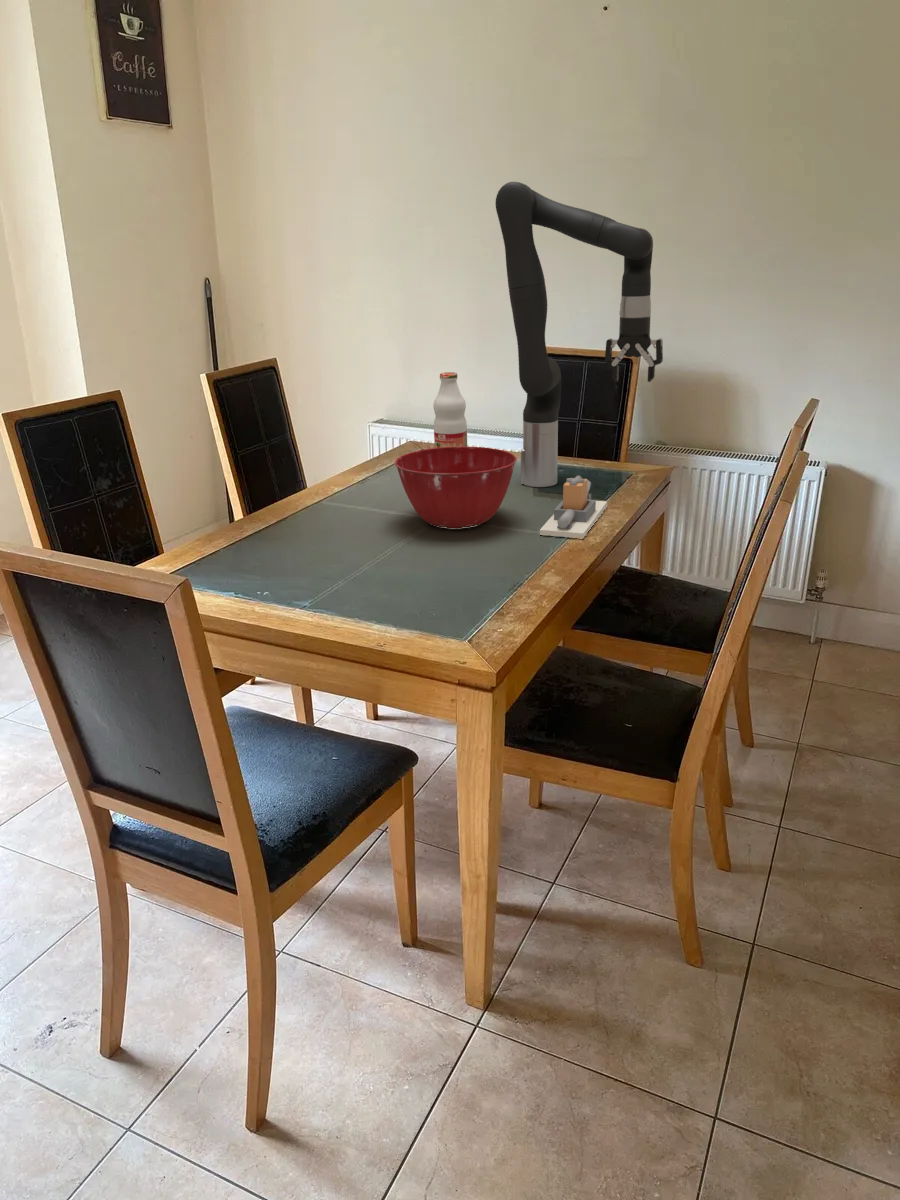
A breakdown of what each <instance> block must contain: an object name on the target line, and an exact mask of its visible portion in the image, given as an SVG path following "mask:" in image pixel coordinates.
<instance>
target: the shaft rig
mask: <svg viewBox="0 0 900 1200" xmlns="http://www.w3.org/2000/svg"><path fill="white" fill-rule="evenodd" d="M591 486H592V482H591V481H590V480H588V484H587V506H586V507H585V509H584V510H572V509H563V499H562V500H560V502H559V503H558V505H557V506H556V507H555V508H554V509H553V514H552V516H551V517H549V519H548V520H547V521H546V522H545V524H543V525H542V527H541V528H540V529H539V536H540V535H551V536H564V537H577V538H578V537H580V538H584V536H585V535H586V534H587V532H588V531H589V530H590V529H591V527H592V526H593V525H594V526H595V524H596V523H597V522H598V520H599V519H600V518H601V516H602V515H603V513H604V512H605V511H606V509H607V508H608V501H605V500H596V499H592V493H589V491H590V489H591ZM604 510H605V511H604ZM603 511H604V512H603ZM601 514H602V515H601ZM599 517H600V518H599ZM598 518H599V519H598ZM596 521H597V522H596ZM595 522H596V523H595ZM594 523H595V524H594ZM594 526H593V527H594ZM593 527H592V528H593ZM591 530H592V529H591ZM591 530H590V531H591ZM590 531H589V532H590ZM587 535H588V534H587ZM587 535H586V536H587ZM584 539H585V538H584Z"/></svg>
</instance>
